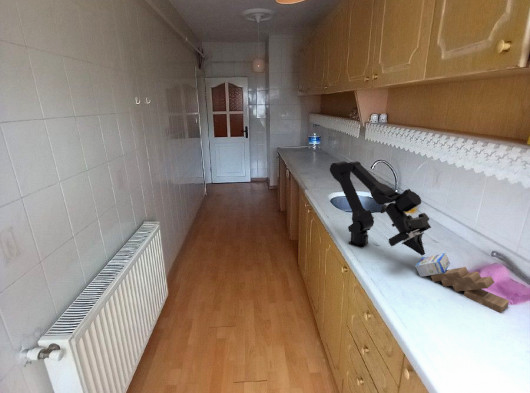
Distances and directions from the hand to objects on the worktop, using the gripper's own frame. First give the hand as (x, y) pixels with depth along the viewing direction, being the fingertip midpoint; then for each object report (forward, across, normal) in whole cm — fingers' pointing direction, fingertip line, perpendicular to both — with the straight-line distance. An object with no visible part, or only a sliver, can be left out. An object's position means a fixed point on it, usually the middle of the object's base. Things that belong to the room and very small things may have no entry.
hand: (423, 254), depth 107 cm
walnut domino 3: (+13, 0, -4) cm, 14 cm away
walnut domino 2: (+11, 0, -2) cm, 11 cm away
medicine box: (+3, 0, +4) cm, 5 cm away
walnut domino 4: (+15, 0, -7) cm, 17 cm away
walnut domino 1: (+8, 0, +1) cm, 8 cm away
